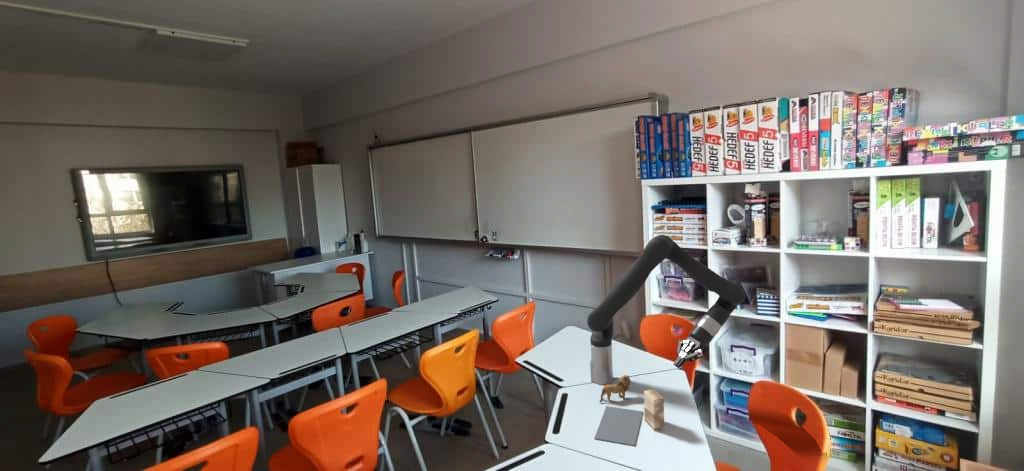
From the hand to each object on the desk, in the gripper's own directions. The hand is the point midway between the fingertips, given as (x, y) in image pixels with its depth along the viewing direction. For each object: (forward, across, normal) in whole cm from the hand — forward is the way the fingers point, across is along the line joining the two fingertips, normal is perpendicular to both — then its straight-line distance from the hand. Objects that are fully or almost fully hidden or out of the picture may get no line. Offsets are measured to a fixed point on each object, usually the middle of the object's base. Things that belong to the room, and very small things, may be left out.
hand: (676, 366), depth 169 cm
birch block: (+22, +1, +8) cm, 23 cm away
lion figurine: (+25, -20, +4) cm, 33 cm away
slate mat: (+30, -2, -1) cm, 30 cm away
